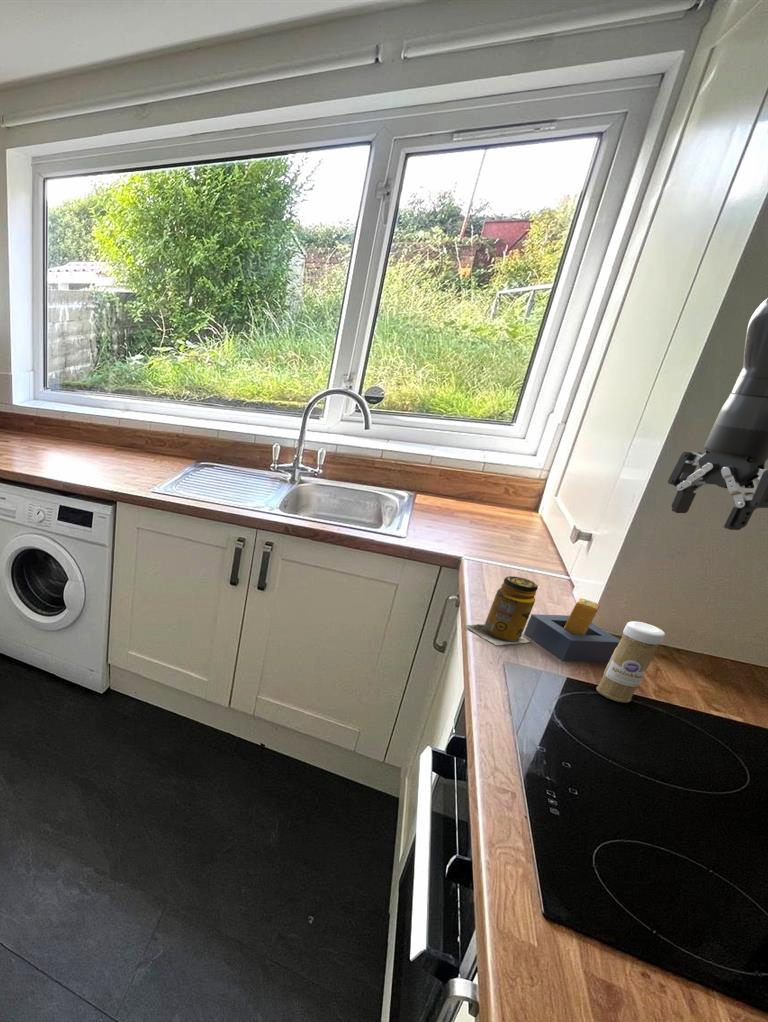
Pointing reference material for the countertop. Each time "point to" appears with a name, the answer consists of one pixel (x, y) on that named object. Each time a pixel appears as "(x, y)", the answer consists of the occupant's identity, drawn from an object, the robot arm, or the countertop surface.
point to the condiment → (508, 612)
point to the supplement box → (581, 617)
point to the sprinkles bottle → (630, 661)
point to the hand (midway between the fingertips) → (704, 520)
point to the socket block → (571, 639)
